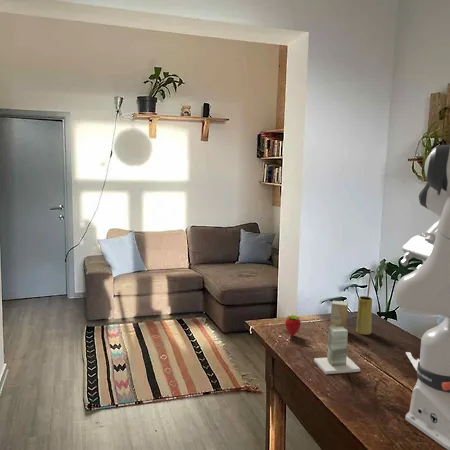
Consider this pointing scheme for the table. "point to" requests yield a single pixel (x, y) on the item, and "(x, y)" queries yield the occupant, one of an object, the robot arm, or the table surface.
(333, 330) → the handle block
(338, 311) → the skincare box
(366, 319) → the vase
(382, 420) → the table surface
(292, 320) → the strawberry
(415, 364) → the butcher knife
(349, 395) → the table surface
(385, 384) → the table surface
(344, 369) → the ceramic tile
